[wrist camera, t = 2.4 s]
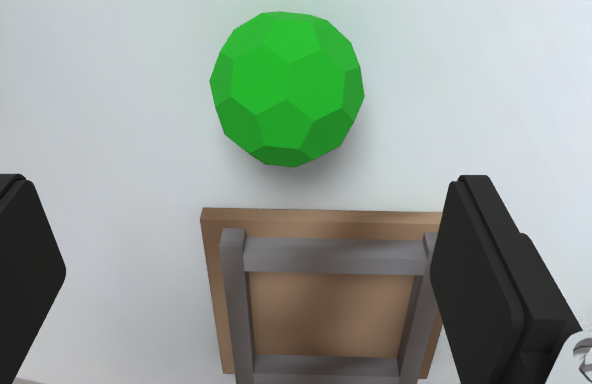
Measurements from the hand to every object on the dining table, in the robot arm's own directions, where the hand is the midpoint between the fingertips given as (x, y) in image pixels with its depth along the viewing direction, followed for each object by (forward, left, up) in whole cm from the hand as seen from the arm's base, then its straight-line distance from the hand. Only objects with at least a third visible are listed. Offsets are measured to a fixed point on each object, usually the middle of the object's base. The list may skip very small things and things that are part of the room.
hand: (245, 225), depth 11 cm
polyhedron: (-1, 0, -9) cm, 9 cm away
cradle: (-3, +13, -9) cm, 16 cm away
